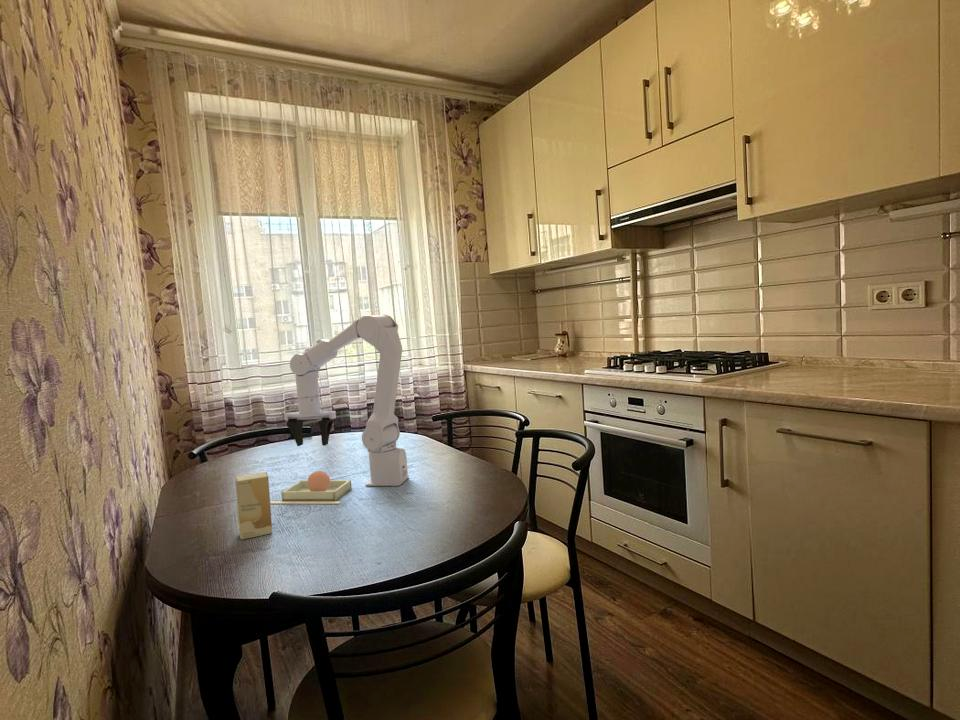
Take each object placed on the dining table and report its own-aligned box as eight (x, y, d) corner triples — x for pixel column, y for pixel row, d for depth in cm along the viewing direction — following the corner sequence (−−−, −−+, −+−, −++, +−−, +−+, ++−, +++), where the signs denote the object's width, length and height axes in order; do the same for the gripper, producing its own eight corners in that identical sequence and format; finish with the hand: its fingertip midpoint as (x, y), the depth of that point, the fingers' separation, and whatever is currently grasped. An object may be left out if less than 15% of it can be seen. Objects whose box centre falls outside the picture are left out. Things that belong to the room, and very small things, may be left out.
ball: (332, 494, 139) (336, 473, 138) (315, 498, 134) (319, 476, 133) (318, 487, 141) (321, 466, 141) (301, 491, 137) (304, 470, 136)
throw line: (340, 502, 130) (340, 501, 130) (338, 504, 129) (338, 502, 129) (272, 502, 134) (271, 501, 134) (269, 504, 133) (269, 502, 133)
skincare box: (240, 540, 111) (234, 481, 110) (239, 533, 114) (233, 476, 113) (274, 533, 113) (268, 475, 113) (271, 526, 117) (266, 470, 116)
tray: (351, 488, 141) (350, 480, 141) (335, 500, 132) (334, 492, 132) (301, 488, 144) (301, 480, 144) (282, 500, 135) (281, 492, 134)
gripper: (339, 393, 154) (343, 441, 155) (291, 395, 157) (296, 442, 158) (327, 397, 147) (331, 447, 148) (278, 399, 150) (283, 448, 151)
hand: (312, 445), depth 153 cm, fingers open, 7 cm apart
